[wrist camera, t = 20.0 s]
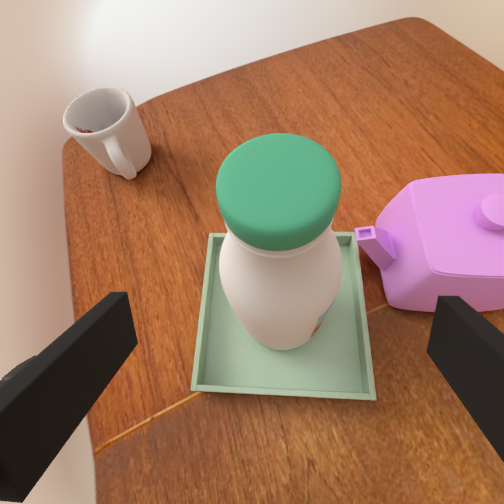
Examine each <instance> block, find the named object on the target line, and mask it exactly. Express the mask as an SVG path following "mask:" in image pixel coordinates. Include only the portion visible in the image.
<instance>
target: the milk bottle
mask: <svg viewBox="0 0 504 504" xmlns="http://www.w3.org/2000/svg"><path fill="white" fill-rule="evenodd" d="M340 193H341V178H340V172H339V169H338V166H337V164H336V162H335V160H334V158H333V157H332V156H331V154H330V153H329V152H328V151H327V150H326V149H325V148H323V147H322V146H321V145H319V144H318V143H316V142H315V141H313V140H310V139H308V138H305V137H303V136H299V135H294V134H286V133H275V134H267V135H263V136H259V137H256V138H253V139H251V140H248V141H246V142H244V143H243V144H241V145H240V146H238V147H237V148H235V149H234V150H233V151H232V152H231V153H230V154H229V155H228V156H227V157H226V159H225V160H224V162H223V163H222V165H221V167H220V169H219V172H218V175H217V180H216V197H217V201H218V205H219V209H220V212H221V214H222V216H223V219H224V221H225V225H226V228H227V230H228V232H227V234H226V236H225V238H224V241H223V244H222V247H221V251H220V258H219V273H220V278H221V283H222V287H223V290H224V292H225V295H226V297H227V299H228V301H229V303H230V305H231V307H232V309H233V310H234V312H235V314H236V315H237V317H238V318H239V320H240V322H241V323H242V325H243V326H244V328H245V329H246V331H247V332H248V333H249V335H250V336H251V337H252V338H253V339H254V340H255V341H257V342H258V343H259V344H261V345H262V346H264V347H267V348H269V349H273V350H281V351H283V350H291V349H295V348H298V347H300V346H302V345H303V344H305V343H306V342H307V341H309V340H310V339H311V338H312V337H313V335H314V334H315V333H316V331H317V330H318V328H319V327H320V325H321V323H322V322H323V320H324V318H325V317H326V315H327V313H328V311H329V309H330V308H331V306H332V304H333V302H334V300H335V297H336V295H337V292H338V290H339V287H340V283H341V277H342V255H341V250H340V246H339V243H338V241H337V238H336V236H335V234H334V232H333V230H332V229H331V225H332V222H333V218H334V215H335V212H336V209H337V206H338V203H339V198H340Z"/></svg>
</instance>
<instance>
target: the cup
mask: <svg viewBox="0 0 504 504" xmlns="http://www.w3.org/2000/svg"><path fill="white" fill-rule="evenodd" d="M63 124H64V127H65V129H66V130H67V131H68V133H69V134H70V135H71V136H72V137H73V138H74V139H75V140H76V141H78V142H79V143H80V144H81V145H82V146H83V147H84V148H85V149H86V150H87V151H88V152H89V153H90V154H91V155H92V156H93V157H94V158H95V159H96V160H97V161H98V162H99V163H100V164H101V165H102V166H103V167H104V168H106V169H107V170H108V171H110V172H112V173H114V174H117V175H122V176H123V177H124V178H125V179H127V180H130V179H133V178H135V177H136V172H138V171H140V170H141V169H142V168H144V167H145V166H146V165H147V163H148V162H149V160H150V157H151V145H150V142H149V139H148V137H147V134H146V132H145V129H144V127H143V125H142V122H141V120H140V117H139V115H138V112H137V110H136V107H135V105H134V102H133V100H132V98H131V96H130V95H129V94H128V93H127V92H126V91H125V90H123V89H121V88H117V87H112V86H107V87H98V88H94V89H91V90H89V91H87V92H85V93H83V94H81V95H80V96H78V97H77V98H75V99H74V100H73V101H72V102H71V103H70V104H69V106H68V107H67V108H66V111H65V113H64V116H63Z"/></svg>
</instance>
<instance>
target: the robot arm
mask: <svg viewBox="0 0 504 504" xmlns="http://www.w3.org/2000/svg"><path fill="white" fill-rule="evenodd" d="M137 344H138V342H137V337H136V332H135V327H134V323H133V318H132V313H131V309H130V304H129V299H128V294H127V292H110V293H109V294H108V295H107V296H106V297H104V298H103V299H102V300H101V301H100V302H99V303H98V304H96V305H95V306H94V307H93V308H92V309H91V310H89V311H88V312H87V313H86V314H85V315H84V316H82V317H81V318H80V319H79V320H78V321H77V322H75V323H74V324H73V325H72V326H71V327H70V328H69V329H67V330H66V331H65V332H64V333H63V334H62V335H61V336H59V337H58V338H57V339H56V340H55V341H53V342H52V343H51V344H50V345H49V346H48V347H47V348H45V349H44V350H43V351H42V352H41V353H40V354H38V355H37V356H33V357H32V358H30V359H28V360H26V361H24V362H23V363H21V364H19V365H18V366H16V367H15V368H14V369H12V370H11V371H10V372H9V373H8V374H7V375H5V376H4V377H3V378H2V380H1V381H0V501H10V502H21V503H22V502H23V501H24V500H25V498H26V497H27V495H28V494H29V492H30V491H31V490H32V489H33V487H34V486H35V484H36V483H37V482H38V480H39V479H40V477H41V476H42V475H43V473H44V472H45V471H46V469H47V468H48V466H49V465H50V464H51V462H52V461H53V460H54V458H55V457H56V455H57V454H58V453H59V451H60V450H61V449H62V447H63V446H64V444H65V443H66V441H67V440H68V439H69V438H70V436H71V435H72V433H73V432H74V430H75V429H76V428H77V426H78V425H79V424H80V422H81V421H82V419H83V418H84V417H85V415H86V414H87V413H88V411H89V410H90V409H91V407H92V406H93V404H94V403H95V402H96V400H97V399H98V397H99V396H100V395H101V393H102V392H103V391H104V389H105V388H106V386H107V385H108V384H109V382H110V381H111V380H112V378H113V377H114V375H115V374H116V373H117V371H118V370H119V369H120V367H121V366H122V364H123V363H124V362H125V360H126V359H127V357H128V356H129V355H130V353H131V352H132V351H133V349H134V348H135V346H136V345H137ZM427 353H428V355H429V356H430V357H431V359H432V360H433V362H434V363H435V365H436V366H437V367H438V369H439V370H440V372H441V373H442V375H443V376H444V378H445V379H446V380H447V382H448V383H449V385H450V386H451V388H452V389H453V390H454V392H455V393H456V395H457V396H458V398H459V399H460V400H461V402H462V403H463V405H464V406H465V408H466V409H467V410H468V412H469V413H470V415H471V416H472V418H473V419H474V420H475V422H476V423H477V425H478V426H479V428H480V429H481V430H482V432H483V433H484V435H485V436H486V438H487V439H488V441H489V442H490V443H491V445H492V446H493V448H494V449H495V451H496V452H497V453H498V455H499V456H500V458H501V459H502V461H503V462H504V334H503V333H502V332H500V331H499V330H498V329H497V328H496V327H495V326H493V325H492V324H491V323H490V322H489V321H488V320H486V319H485V318H484V317H483V316H482V315H481V314H479V313H478V312H477V311H476V310H475V309H474V308H472V307H471V306H470V305H469V304H468V303H466V302H465V301H464V300H463V299H462V298H461V297H459V296H438V299H437V304H436V309H435V313H434V318H433V323H432V328H431V333H430V338H429V343H428V348H427Z"/></svg>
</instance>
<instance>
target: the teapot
mask: <svg viewBox="0 0 504 504" xmlns="http://www.w3.org/2000/svg"><path fill="white" fill-rule="evenodd" d="M355 235H356V241H357V243H358V244H359V245H360V246H361V248H362V249H363V250H364V251H365V252H366V253H367V255H368V256H369V257H370V258H371V259H372V260H373V261H374V263H375V264H376V265H377V266H378V267H379V268H380V273H381V278H382V282H383V287H384V292H385V295H386V299H387V302H388V304H389V305H390V306H392V307H394V308H399V309H405V310H413V311H424V312H435V309H436V304H437V299H438V296H459V297H461V298H462V299H463V300H464V301H465V302H466V303H468V304H469V305H470V306H471V307H472V308H474V309H475V310H476V311H477V312H483V311H492V310H501V309H504V174H467V175H453V176H442V177H433V178H426V179H419V180H415V181H412V182H410V183H409V184H408V185H407V186H406V187H405V188H403V189H402V190H401V191H400V192H399V193H398V194H397V195H396V196H395V197H394V198H393V199H392V200H391V201H390V202H389V203H388V205H387V206H386V207H385V208H384V210H383V211H382V212H381V214H380V215H379V217H378V218H377V220H376V224H375V227H374V226H367V227H360V228H355Z"/></svg>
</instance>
